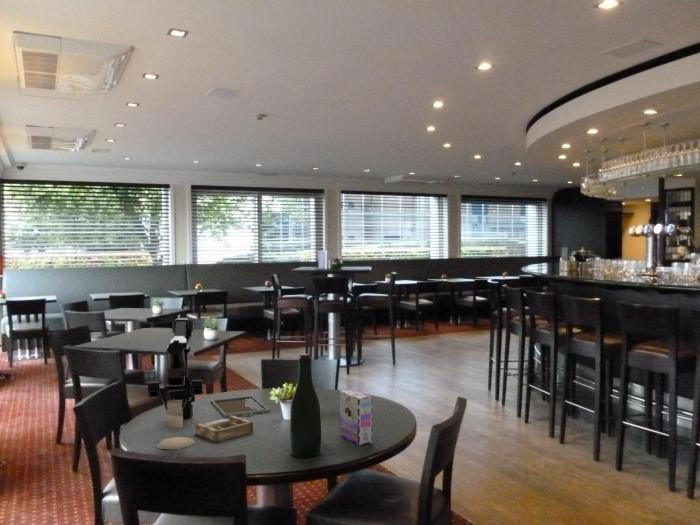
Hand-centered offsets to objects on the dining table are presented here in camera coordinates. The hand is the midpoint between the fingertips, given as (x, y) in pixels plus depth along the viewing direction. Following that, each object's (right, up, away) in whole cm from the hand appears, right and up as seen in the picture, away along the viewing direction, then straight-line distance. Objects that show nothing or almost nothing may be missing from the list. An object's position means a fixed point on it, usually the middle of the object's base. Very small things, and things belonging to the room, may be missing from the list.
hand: (174, 409), depth 199 cm
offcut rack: (+14, -12, +14) cm, 23 cm away
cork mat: (0, -12, +1) cm, 12 cm away
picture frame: (+13, -12, +49) cm, 52 cm away
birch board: (0, -7, +1) cm, 7 cm away
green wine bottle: (+46, -12, -9) cm, 49 cm away
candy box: (+63, -12, +5) cm, 64 cm away
